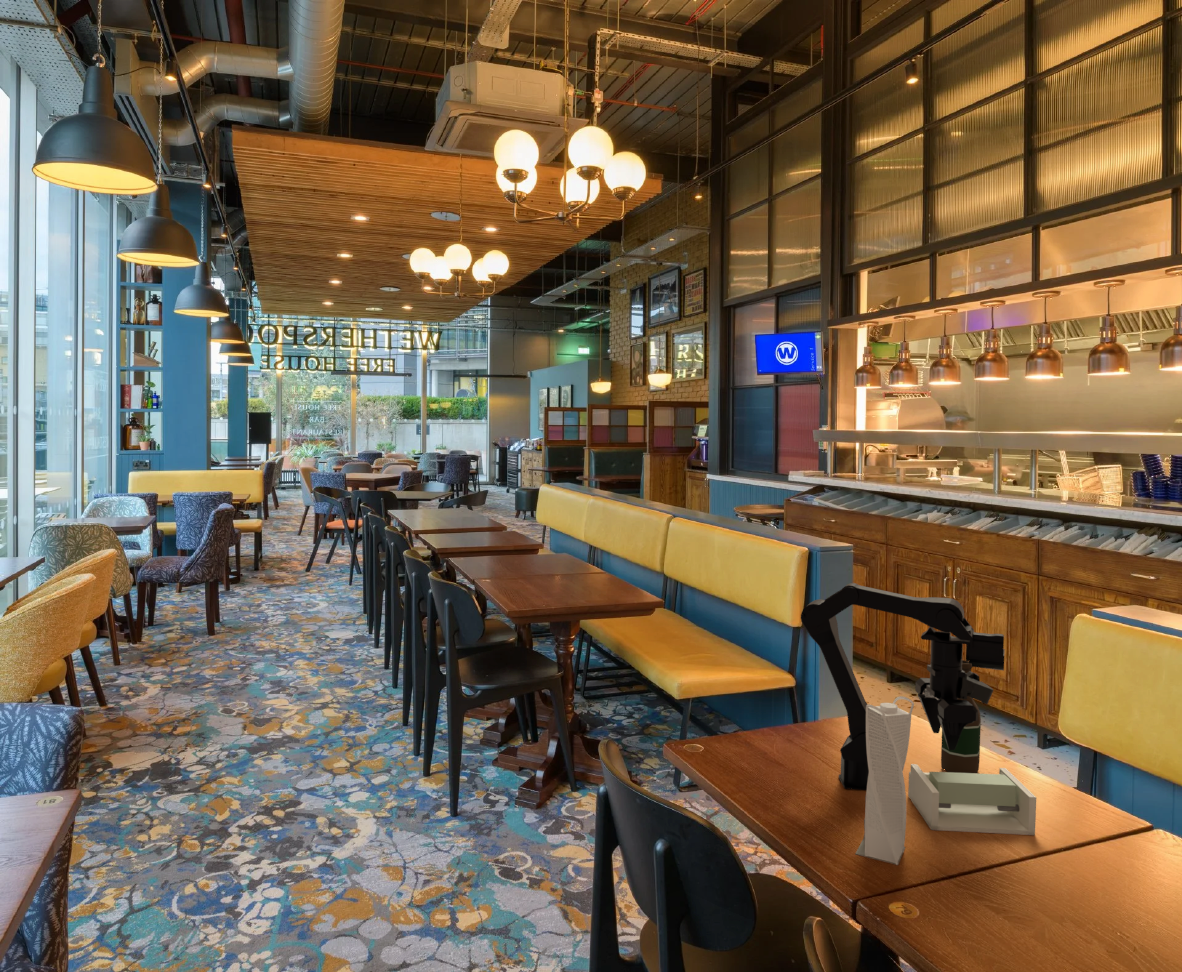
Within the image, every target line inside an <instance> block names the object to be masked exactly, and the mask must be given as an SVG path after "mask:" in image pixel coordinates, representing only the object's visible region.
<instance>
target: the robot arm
mask: <svg viewBox="0 0 1182 972" xmlns="http://www.w3.org/2000/svg"><path fill="white" fill-rule="evenodd" d="M851 606H858V607H861V608H862V607H863V608H868V609H872V610H876V611H881V612H885V613H889V614H894V615H898V616H903V617H907V618H912V619H914V620H916V621H918V622H920V623H922V624H924V625H925V626H927V627H928V629H927V630H925V631H924V632H922V633H921V636H920V639H921V640H924V641H930V664H926V670H927V671H928V672H929V678H928V677H920V678H918V679H917V680H916V681H915V688H914V689H915V692H916V693H917V697H918V699H919V701H920V704H921V706H922V709H923V711H924V713H925V715H926V718H927V720H928V724H929V726H930V729H931V731H932V733H933V734H939V733H940V730H941V732H942V731H943V734H944V737H945V740H946V743H947V746H948V749H949V750H955V748H956V746H957V743H958V740H959V738H960V735H961V733H962V730H963V728H964V727H965V726H966V725H967V724H969V723H973V722H974V721H977V720H978V710H977V709H976V708H975V707H974V706H973V705H972V704H971V703H970V702H968V701H967V700H957V699H958V698H960V699H967V696H969V697H971V698H973V700H976V701H980V702H981V703H982V704H985V705H988V703H990V700H991V697H992V695H993V693H994V689H993V687H991V686H989V685H988V684H986V683H984V681H981V680H980V676H979V675H978V673H976V672H973V671H971V672H970V671H969V672H968V673H965V672H964V671H963V670H962V660H963V646H964V645H965V649H966V650H965V661H969V663H970V664H972V668H979V669H987V670H988V669H989V670H996V671H1002V672H1003V671H1004V670H1005V648H1004V643H1005V642H1004V641H1005V635H1004V634H1003V633H984V632H975V630H974V628H973V627H972V625H971V624H970V622H968V620H967V619H966V618H965V610H964V607H963V605H962V604H961V603H960V602H959V601H958V600H957V599H954V598H951V597H935V596H931V597H916V596H910V595H906V594H901V593H896V592H892V591H887V590H883V589H879V588H873V587H868V586H864V585H860V584H859V583H855V582H850V583H847V584H846V585H845V586H844V587H842V589H840V590H839V591H836V592H835V593H832V594H831V595H830V596H829V597H826V598H825V599H821V598H819V599H815V600H813V601H811V602H809V604H807V605H806V606H805V607H804V608H803V609H802V611H801V614H800V620H801V623H802V625H803V627H804V628H805V630H806V631H807V634H808V635H809V637H811V638H812V640H813V641H814V642H815V643H816V644H817V646H818V647H819V649H820V650H821V653H822V656H823V659H825V662H826V664H827V667H828V669H829V672H830V674H831V677H832V679H833V681H834V684H835V686H836V689H837V691H838V694H839V696H840V699H841V701H842V703H843V705H844V708H845V710H846V714H847V722H848V724H847V725H848V730H849V735H848V736H847V737H846V738H845V740H844V742H843V744H842V746H841V748H840V754H841V755H840V774H838V779H839V780H840V783H841V785H842V786H843V788H844V789H846V790H858V791H861V790H862V791H867V782H868V775H869V768H868V761H867V748H866V706H867V704H868V703H867V701H866V699H865V698H864V697H865V696H864V695H863V692H862V690H861V688H860V685H859V683H858V681H857V678H856V675H855V673H854V671H853V669H852V666H851V664H850V661H849V660H848V656H847V654H846V652H845V649H844V647H843V645H842V643H841V640H840V636H839V627H838V626H839V625H838V621H837V615H838V614H840V613H841V612H843V611H844V610H846V609H847V608H849V607H851Z"/></svg>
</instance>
